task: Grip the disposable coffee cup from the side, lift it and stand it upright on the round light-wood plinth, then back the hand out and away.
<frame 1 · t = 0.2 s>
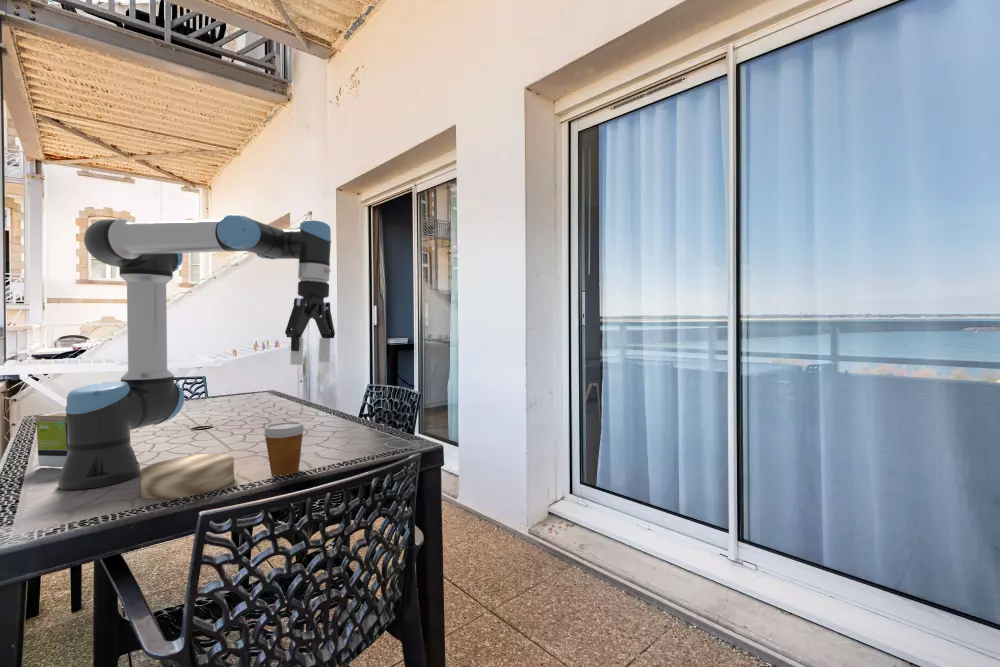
hand: (311, 363, 119), 27 cm above the table, tool pointing down, fingers open, 13 cm apart
wooden plinth: (189, 485, 107), on the table
disposable coffee cup: (285, 473, 116), on the table
tea box: (82, 462, 130), on the table
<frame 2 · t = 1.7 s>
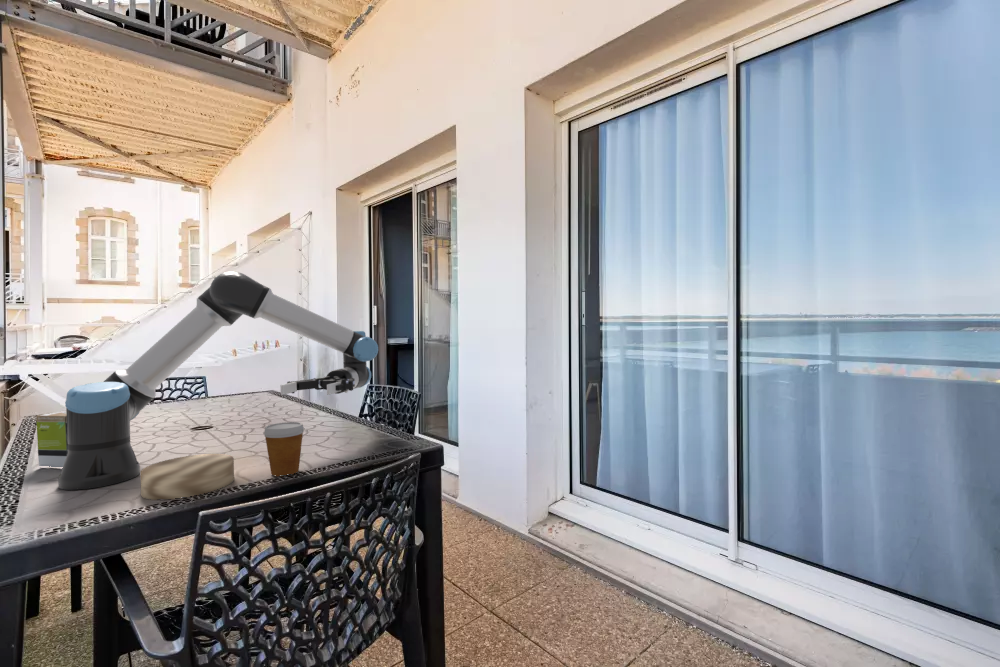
hand: (304, 389, 125), 20 cm above the table, tool horizontal, fingers open, 13 cm apart
nothing on the table moved.
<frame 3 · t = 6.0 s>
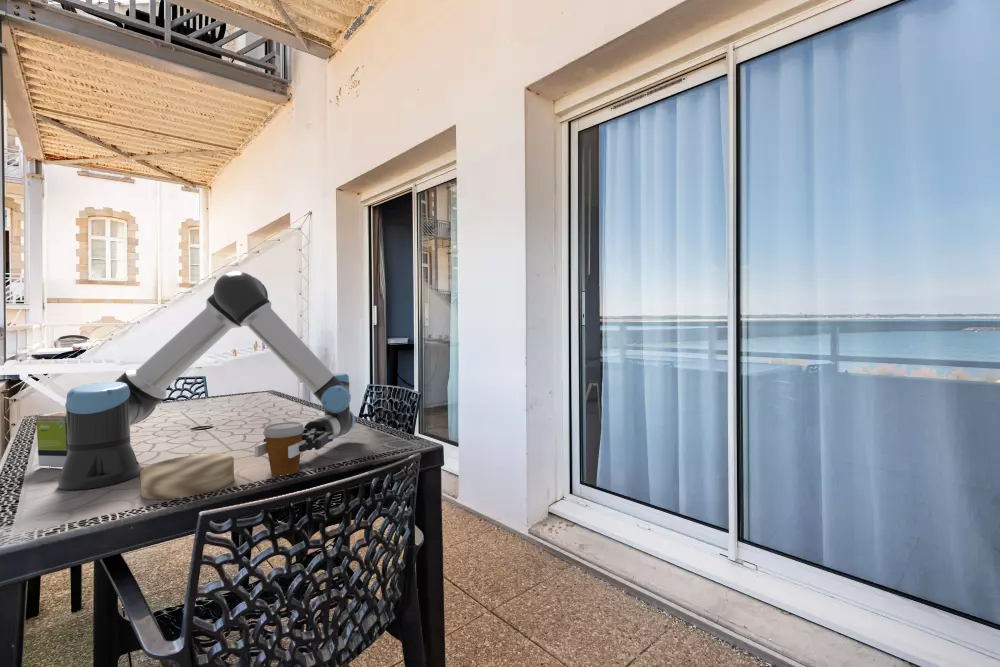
hand: (272, 452, 111), 7 cm above the table, tool horizontal, fingers closed on disposable coffee cup, 8 cm apart
disposable coffee cup: (285, 473, 116), on the table, touching gripper
everything else where it was.
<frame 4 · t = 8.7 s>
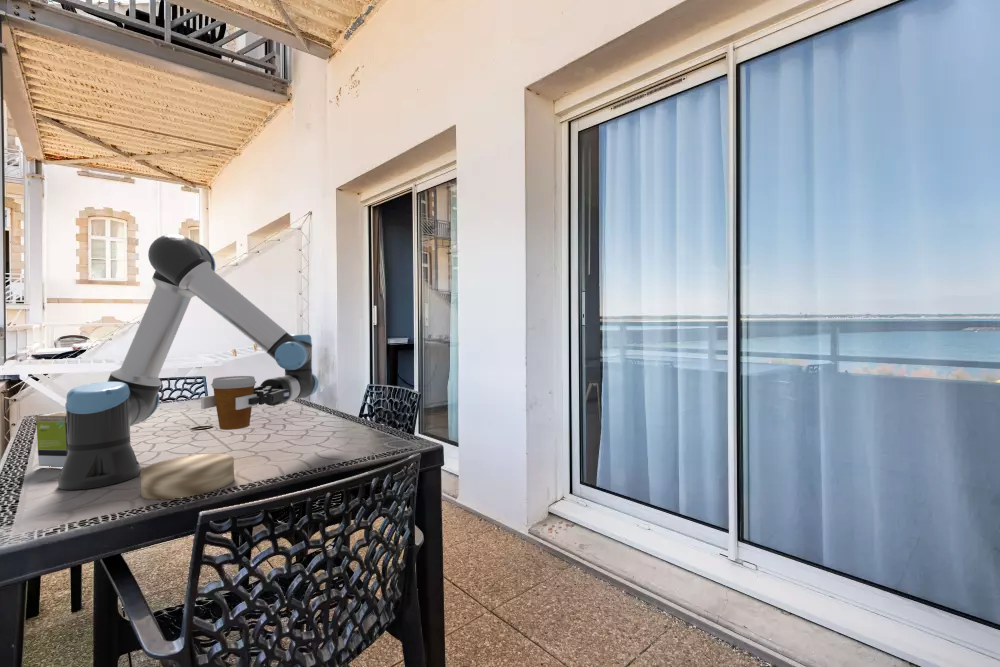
hand: (219, 403, 106), 19 cm above the table, tool horizontal, fingers closed on disposable coffee cup, 8 cm apart
disposable coffee cup: (234, 428, 111), point 13 cm above the table, touching gripper
everything else where it was.
when the fingers open (13 cm above the table, at t = 11.4 s): disposable coffee cup drops 1 cm, resting on wooden plinth.
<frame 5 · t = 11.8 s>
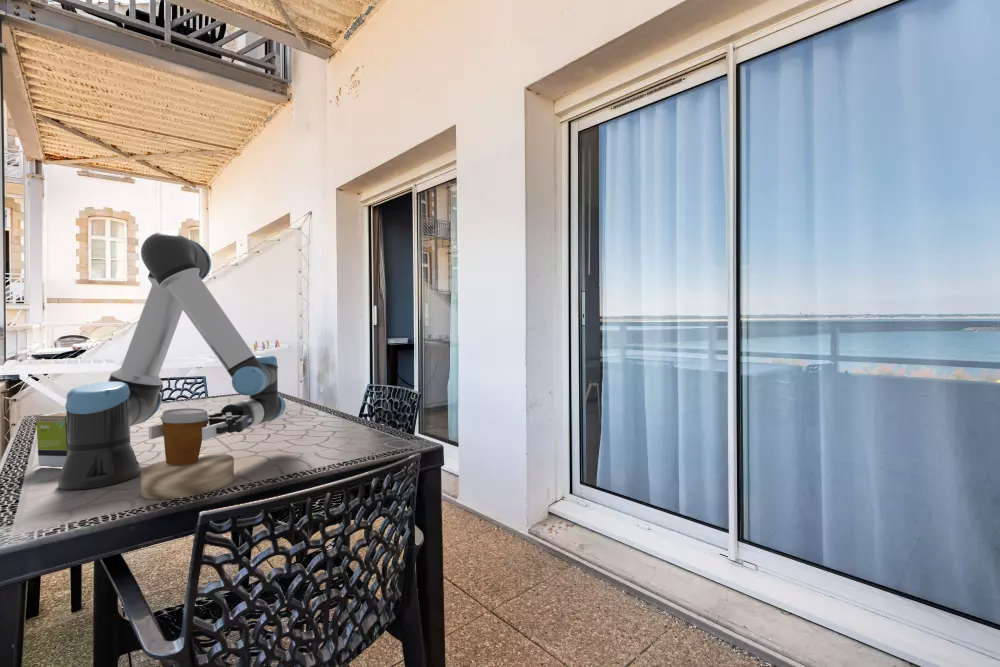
hand: (176, 433, 104), 13 cm above the table, tool horizontal, fingers open, 13 cm apart
disposable coffee cup: (182, 462, 109), point 5 cm above the table, touching gripper, wooden plinth
everything else where it was.
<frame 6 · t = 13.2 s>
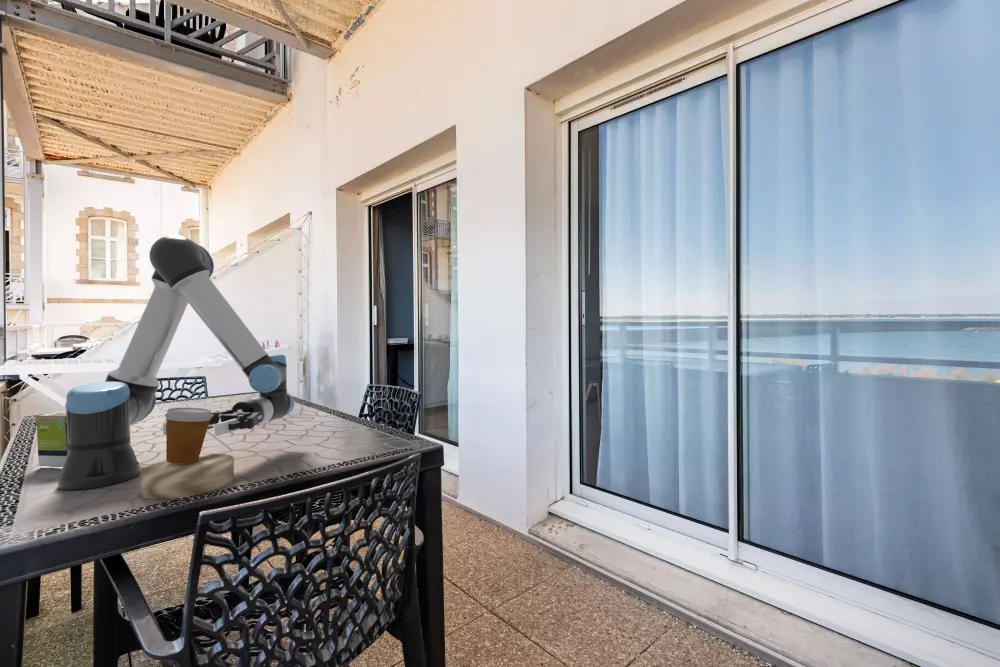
hand: (190, 429, 107), 13 cm above the table, tool horizontal, fingers open, 13 cm apart
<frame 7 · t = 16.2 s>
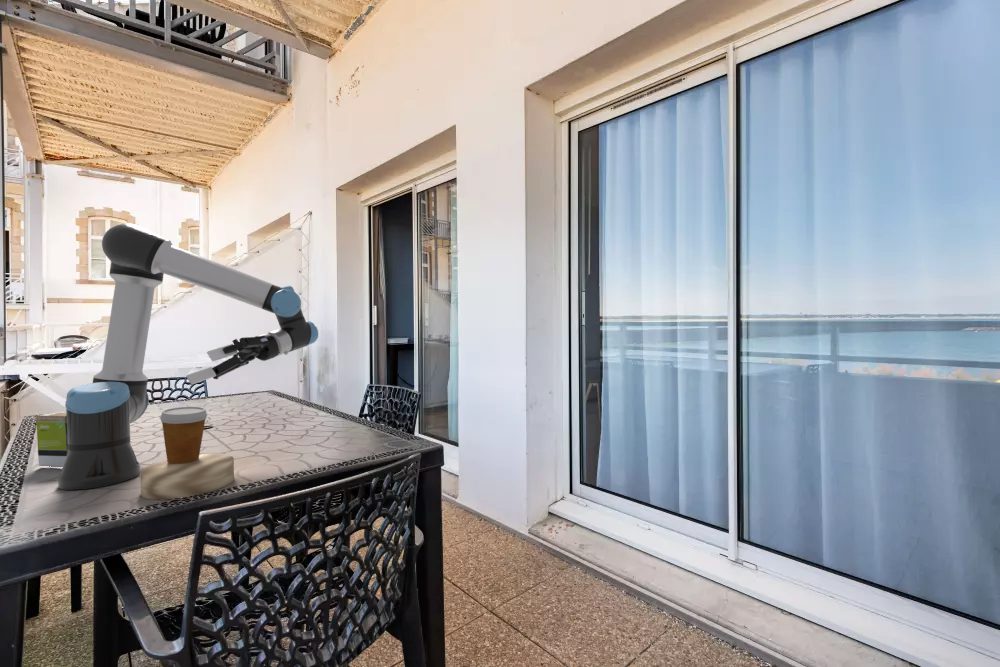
hand: (199, 368, 117), 27 cm above the table, tool horizontal, fingers open, 13 cm apart
disposable coffee cup: (183, 460, 110), point 5 cm above the table, touching wooden plinth
everything else where it was.
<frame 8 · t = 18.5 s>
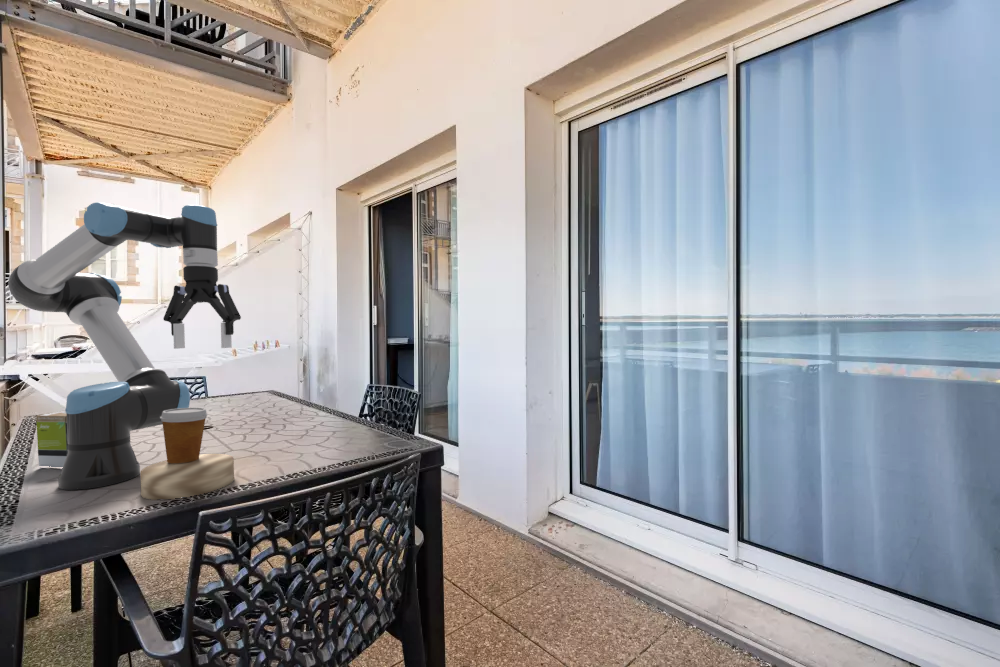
hand: (202, 348, 120), 32 cm above the table, tool pointing down, fingers open, 13 cm apart
at the end: disposable coffee cup inside the target area on the wooden plinth (4.7 cm from its centre), point 4.9 cm above the wooden plinth's base; disposable coffee cup tilted 2°; the gripper is holding nothing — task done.
